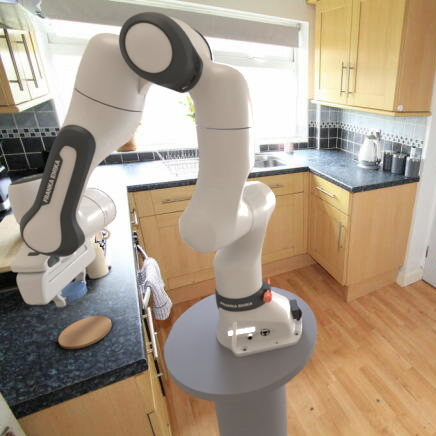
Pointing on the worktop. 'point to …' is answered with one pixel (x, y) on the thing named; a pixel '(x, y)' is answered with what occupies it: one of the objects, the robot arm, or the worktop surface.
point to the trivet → (85, 332)
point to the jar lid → (74, 291)
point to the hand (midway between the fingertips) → (72, 295)
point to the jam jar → (97, 263)
